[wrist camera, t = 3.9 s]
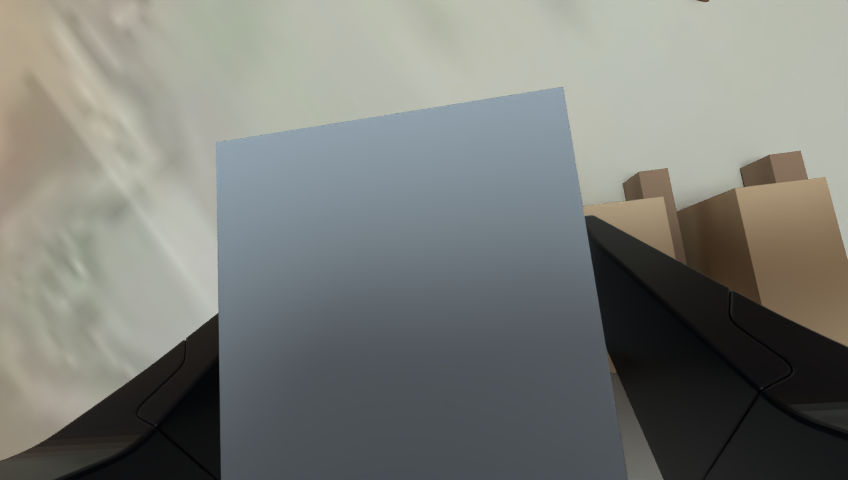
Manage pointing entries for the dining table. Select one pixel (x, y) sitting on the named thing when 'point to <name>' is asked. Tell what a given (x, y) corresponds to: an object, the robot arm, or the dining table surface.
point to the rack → (753, 174)
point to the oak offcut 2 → (775, 250)
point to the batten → (412, 301)
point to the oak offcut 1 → (637, 225)
